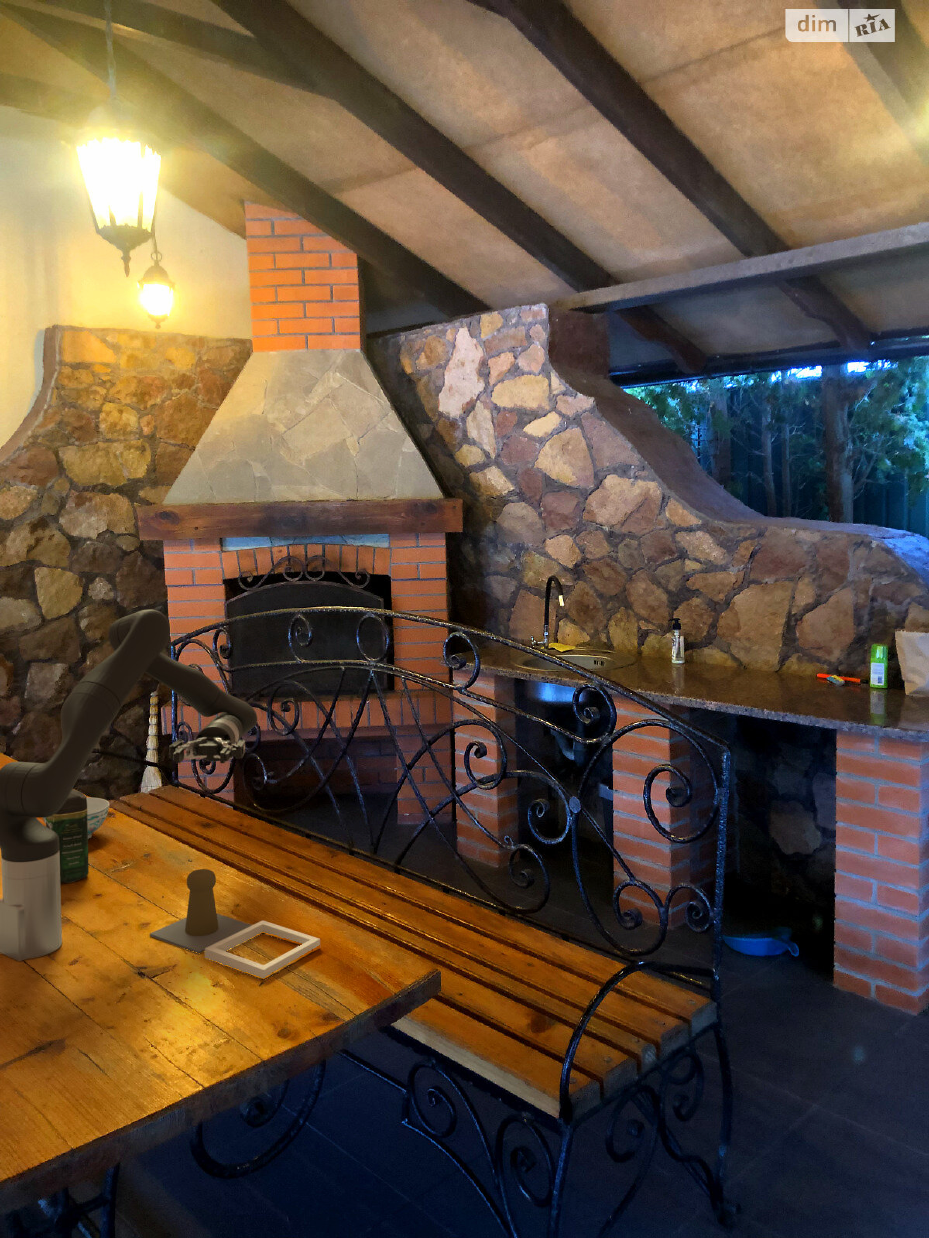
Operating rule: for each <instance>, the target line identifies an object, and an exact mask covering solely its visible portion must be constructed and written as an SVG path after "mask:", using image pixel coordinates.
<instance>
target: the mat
mask: <svg viewBox="0 0 929 1238" xmlns="http://www.w3.org/2000/svg"><path fill="white" fill-rule="evenodd" d="M186 918H187V916H185V917H184V918H182V919H179V920H177V921H175V922H172V923H171V924H168V925H166V926H164V927H161V928H159V929H157V930H155V931H151V932H150V933H149V937H151V938H153V939H157V940H159V941H162V942H165V943H167V944H170V945H172V944H173V946H175V945H176V946H175V947H177V948H180V947H181V949H183V948H185V949H184V950H186V949H188V950H187V951H189V950H190V951H189V952H191V951H194V952H197V953H201V952H203V951H205V948H207V947H209V946H211V945H213V944H215V943H217V942H219V941H221V940H223V939H225V938H227V937H229V936H231V935H234V934H236V933H238V932H240V931H242V930H244V929H246V928H248V927H250V926H252V925H253V924H250V923H246V922H243V921H242V920H238V919H234V918H232V917H229V916H226V915H223V914H219V913H217V919H218V926H219V929H218V930H217V931H216V932H214V933H212V934H209V935H205V936H191V935H188V934H186V932H185V926H186ZM194 952H193V953H194ZM197 953H196V954H197ZM203 953H204V952H203ZM201 954H202V953H201Z"/></svg>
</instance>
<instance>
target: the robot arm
mask: <svg viewBox="0 0 929 1238" xmlns="http://www.w3.org/2000/svg"><path fill="white" fill-rule="evenodd" d="M107 635H108V637H107V638H108V641H109V644H110V646H111V648H112V649H113V650H112V651H113V652H112V654H110V655H108V656H107V657H106V658H105V659H104V660H103V661H101V662H100V663H98V665H96V666H95V667H93V668H92V669H91V670H90V671H89V672H88V673H86V674H85V676H84V677H82V678H81V679H80V680H79V681H78V683H77V684H76V686H74V688H73V690H72V691H71V692H70V694H69V695H68V696H67V698H66V699H65V701H64V702H63V705H62V707H61V709H60V726H61V734H62V735H61V738H62V739H61V743H60V745H59V746H58V748H57V750H56V751H55V752H54V754H53V755H52V756H51V758H50V759H49V760H48V761H46V762H44V763H41V762H29V761H27V762H26V761H11V762H9V763H6V764H4V765H3V766H2V767H1V768H0V854H1V858H0V859H1V883H2V884H1V885H2V886H1V889H2V890H1V891H2V898H0V954H2V955H4V956H7V957H9V958H11V959H13V960H16V961H18V962H21V961H24V960H27V959H34V958H35V959H36V958H39V957H43V956H46V955H48V954H51V953H53V952H54V951H57V950H58V949H59V948H61V946H62V944H63V936H62V935H63V930H62V929H63V928H62V902H61V901H62V898H61V894H62V893H61V882H60V854H59V837H58V835H57V834H56V833H55V832H54V831H52V830H51V829H49V828H47V827H46V825H44V824H43V823H42V822H41V821H40V820H39V818H42V819H43V817H50V816H52V815H54V814H55V813H57V812H58V811H59V809H60V808H61V807H62V806H63V804H64V803H65V801H66V800H67V798H68V796H69V794H70V793H71V791H72V789H74V786H75V785H76V782H77V781H78V779H79V777H80V775H81V773H82V771H83V769H84V767H85V765H86V763H87V761H88V759H89V758H90V756H91V754H92V753H93V751H94V749H96V747H97V745H98V743H99V741H100V740H101V738H102V736H104V733H106V731H107V730H108V728H109V727H110V726H111V724H112V723H113V721H114V719H115V718H116V717H117V715H118V714H119V712H120V711H121V708H122V707H123V705H124V703H125V702H126V700H127V699H128V697H129V695H130V694H131V693H132V692H133V690H134V689H135V687H136V685H137V684H138V682H139V681H140V679H141V678H142V677H143V675H144V673H145V674H147V675H149V676H150V677H152V678H153V679H155V680H157V681H158V682H160V683H161V684H163V685H164V686H165V687H168V688H169V689H170V690H171V691H173V692H174V693H175V694H177V695H178V696H179V697H180V698H182V699H183V700H184V701H185V702H186V703H187V704H188V705H189V706H190V707H192V708H193V710H195V711H196V712H197V713H199V715H201V716H202V717H204V718H210V717H213V716H216V715H217V716H216V717H214V718H213V719H212V720H211V721H210V722H209V723H208V724H207V725H205V726H204V727H203V728H202V729H201V730H200V731H199V732H198V733H197V735H196V737H195V740H189V741H187V742H186V743H185V741H184V740H183V739H178V740H175V741H174V742H172V744H170V745H169V749H168V750H169V759H172V760H173V761H174V762H175V764H181V763H182V762H183V761H184V760H185V759H188V760H195V759H200V758H201V759H203V760H205V761H208V762H211V763H214V762H219V764H225V763H226V762H229V761H230V760H232V759H233V758H235V759H236V760H237V759H238V760H241V759H243V757H244V755H245V753H246V740H244V739H241V738H242V737H243V736H244V735H245V734H247V733H248V732H249V731H251V730H252V729H253V728H254V727H256V725H257V724H258V715H257V712H256V711H255V709H254V708H253V706H251V705H250V704H249V703H248V702H246V701H244V700H241V699H240V698H237V697H236V696H233V695H232V694H230V693H227V692H225V691H224V690H222V689H221V688H220V687H219V686H218V685H217V684H216V683H215V682H214V681H213V680H211V679H210V678H209V677H208V676H207V675H206V674H204V673H203V672H202V671H200V670H198V669H196V668H194V667H192V666H189V665H187V664H184V663H182V662H180V661H178V660H175V659H173V658H171V657H169V656H167V655H165V654H164V653H162V652H163V651H164V649H165V648H166V647H167V644H168V643H169V639H170V638H171V626H170V622H169V619H168V618H167V616H166V615H165V614H163V613H162V612H161V611H159V610H156V609H142V610H139V611H137V612H134V613H131V614H129V615H126V616H124V617H121V618H119V619H117V620H115V621H114V622H113V623H112V624H111V625H110V627H109V629H108V634H107Z"/></svg>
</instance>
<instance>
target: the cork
mask: <svg viewBox="0 0 929 1238" xmlns="http://www.w3.org/2000/svg"><path fill="white" fill-rule="evenodd" d="M216 882H217V878H216V874H215V872H214V871H212V870H211V869H207V868H201V869H195V870H193V871H191V872H189V874H188V875H187V877H186V886H187V889H188V890H189V896H188V902H187V903H188V905H187V911H186V917H187V918H186V917H185V918H186V926H185V932H186V934H188V935H191V936H205V935H209V934H212V933H214V932H216V931H217V930H218V929H219V926H218V919H217V914H218V913H217V907H216V901H215V894H214V887H215V885H216Z"/></svg>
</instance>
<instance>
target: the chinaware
mask: <svg viewBox="0 0 929 1238" xmlns="http://www.w3.org/2000/svg"><path fill="white" fill-rule="evenodd" d="M86 798H87V822H88V840H89V838H90V839H91V838H92V834H94V833H95V832H96V831H97V830H98V829H100V827H102V824H103V823H104V822H105V821H106V819H107V816H108V812H109V810H110V809H109V808H110V802H109V801H108V800H106V799H104V798H99V797H87V796H86ZM42 819H43V822H44V824H45V825H46V817H43V818H42Z"/></svg>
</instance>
